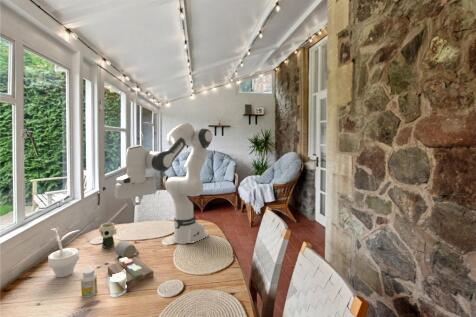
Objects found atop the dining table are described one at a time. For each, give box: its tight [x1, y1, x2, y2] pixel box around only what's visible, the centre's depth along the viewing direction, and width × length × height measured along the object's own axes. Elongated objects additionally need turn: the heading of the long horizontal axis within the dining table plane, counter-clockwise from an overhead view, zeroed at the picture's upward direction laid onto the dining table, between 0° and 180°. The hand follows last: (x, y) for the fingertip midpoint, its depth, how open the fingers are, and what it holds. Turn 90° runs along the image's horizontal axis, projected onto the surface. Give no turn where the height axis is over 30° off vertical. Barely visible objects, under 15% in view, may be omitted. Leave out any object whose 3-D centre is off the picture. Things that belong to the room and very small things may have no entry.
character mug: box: [98, 222, 117, 249], centre depth 144 cm, size 11×7×13 cm, turn 78°
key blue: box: [127, 264, 137, 274], centre depth 114 cm, size 3×3×3 cm
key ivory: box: [118, 257, 129, 266], centre depth 120 cm, size 3×3×3 cm
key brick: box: [123, 258, 133, 270], centre depth 117 cm, size 3×3×3 cm
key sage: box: [131, 265, 142, 278], centre depth 110 cm, size 3×3×3 cm
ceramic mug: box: [114, 240, 139, 259], centre depth 134 cm, size 11×8×8 cm
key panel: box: [107, 256, 154, 289], centre depth 115 cm, size 13×19×3 cm
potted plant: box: [47, 225, 81, 278], centre depth 115 cm, size 13×12×25 cm
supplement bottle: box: [80, 267, 98, 298], centre depth 101 cm, size 5×5×10 cm
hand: (136, 204), depth 126 cm, fingers closed
